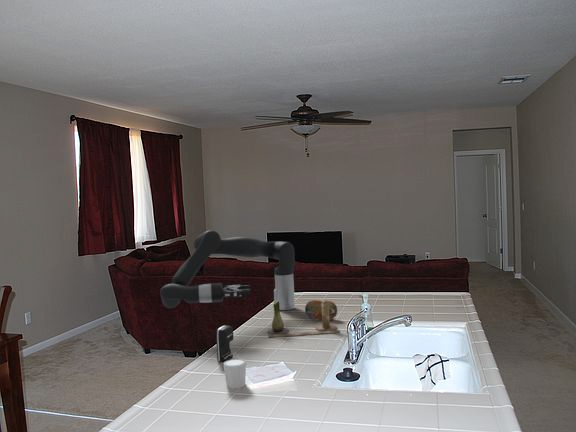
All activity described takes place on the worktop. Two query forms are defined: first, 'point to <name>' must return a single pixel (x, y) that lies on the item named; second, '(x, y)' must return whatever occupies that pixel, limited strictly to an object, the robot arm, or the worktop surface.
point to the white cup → (235, 373)
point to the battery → (224, 342)
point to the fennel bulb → (277, 318)
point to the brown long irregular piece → (321, 329)
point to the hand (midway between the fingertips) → (250, 289)
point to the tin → (319, 310)
